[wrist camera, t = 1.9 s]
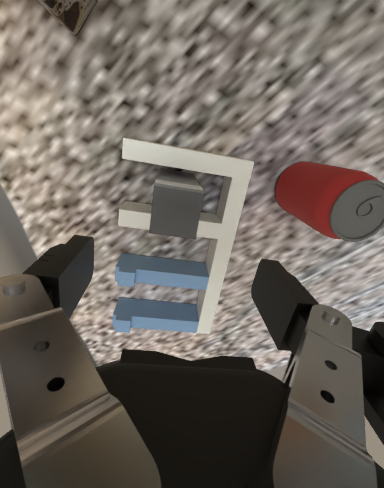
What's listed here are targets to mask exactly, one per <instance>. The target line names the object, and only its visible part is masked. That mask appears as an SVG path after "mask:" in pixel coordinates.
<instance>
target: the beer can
mask: <svg viewBox="0 0 384 488" xmlns="http://www.w3.org/2000/svg"><path fill="white" fill-rule="evenodd" d="M275 193H276V199H277V201H278V203H279V205H280V206H281V207H282V208H283V209H284V210H286V211H287V212H289V213H290V214H292V215H293V216H295V217H296V218H298V219H300V220H301V221H303V222H304V223H306V224H307V225H309V226H310V227H312V228H313V229H315V230H317V231H318V232H320V233H321V234H323V235H326V236H328V237H330V238H334V239H342V240H345V241H350V242H357V241H361V240H365V239H367V238H369V237H371V236H373V235H374V234H376V233H377V232H378V231H379V230H380V229H381V228H383V226H384V183H382V182H380V181H379V180H378V179H377V178H375V177H373V176H371V175H369V174H367V173H365V172H363V171H358V170H353V169H347V168H341V167H336V166H330V165H324V164H319V163H313V162H299V163H295V164H293V165H292V166H290V167H288V168H287V169H286V170H285V171H284V172H283V173H282V174H281V176H280V178H279V180H278V181H277V185H276V189H275Z"/></svg>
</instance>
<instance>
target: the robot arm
mask: <svg viewBox="0 0 384 488" xmlns="http://www.w3.org/2000/svg"><path fill="white" fill-rule="evenodd" d="M93 269H94V239H93V237H88V236H80V235H74V236H73V237H72V238H71V239H70V240H69V241H68V242H67V243H66V244H59V245H57V246H54V247H52V248H50V249H49V250H48V251H46V252H45V253H44V255H42V256H41V257H40V258H39V259H38V260H37V261H36V262H34V263H33V264H32V265H31V266H30V267H29V268H28V269H27V270H26V271H24V272H23V273H22V274H14V275H8V276H4V277H1V278H0V372H1V377H2V382H3V387H4V392H5V397H6V402H7V407H8V413H9V418H10V423H11V428H12V429H11V430H10V431H9V432H7V433H6V434H5V435H4V436H2V437H1V438H0V488H384V469H383V468H382V467H381V466H379V465H378V464H377V463H376V462H375V461H374V460H373V458H372V456H370V455H369V454H368V452H367V449H366V437H365V418H364V415H365V417H366V418H367V420H368V421H369V423H370V425H371V426H372V428H373V429H374V431H375V432H376V434H377V435H378V437H379V439H380V440H381V442H382V443H383V444H384V322H375V323H374V325H373V327H372V328H371V330H370V331H366V330H363V329H360V328H356V327H353V326H352V323H351V321H350V320H349V318H348V317H347V316H345V315H344V314H343V313H341V312H340V311H338V310H336V309H334V308H332V307H329V306H326V305H321V304H319V303H318V302H317V301H316V300H315V299H314V298H313V297H312V295H311V294H310V293H309V292H308V291H307V290H306V289H305V287H304V286H303V285H301V283H300V282H299V281H298V280H297V278H296V277H294V276H293V275H291V274H290V273H288V272H287V271H286V270H285V268H284V267H283V266H282V265H281V264H280V263H279V262H278V261H275V260H267V259H262V260H261V261H260V263H259V265H258V269H257V272H256V275H255V278H254V281H253V284H252V289H251V295H252V298H253V301H254V303H255V305H256V307H257V309H258V311H259V313H260V315H261V317H262V319H263V321H264V323H265V325H266V327H267V329H268V331H269V333H270V335H271V337H272V339H273V341H274V342H275V344H276V346H277V348H278V350H287V351H291V352H292V353H291V355H290V357H289V360H288V363H287V366H286V369H285V372H284V375H283V378H282V380H279V379H277V378H275V377H274V376H272V375H270V374H268V373H266V372H263V371H261V370H258V369H256V367H255V364H254V361H253V359H252V358H248V357H233V356H218V357H212V358H206V359H200V360H195V361H189V360H185V359H181V358H178V357H174V356H171V355H167V354H164V353H160V352H157V351H143V350H128V349H123V350H122V354H121V359H120V360H119V361H113V362H110V363H106V364H103V365H101V366H98V367H96V368H95V367H94V365H93V363H92V361H91V359H90V358H89V356H88V354H87V352H86V350H85V349H84V347H83V345H82V343H81V341H80V339H79V338H78V336H77V334H76V332H75V330H74V328H73V327H72V325H71V323H70V321H69V318H70V317H71V315H72V313H73V311H74V310H75V308H76V306H77V304H78V302H79V301H80V299H81V297H82V295H83V294H84V292H85V290H86V288H87V287H88V285H89V283H90V281H91V279H92V275H93Z"/></svg>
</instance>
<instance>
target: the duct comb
mask: <svg viewBox="0 0 384 488" xmlns="http://www.w3.org/2000/svg"><path fill="white" fill-rule="evenodd" d="M122 159H128V160H134V161H139V162H145V163H151V164H157V165H163V166H169V167H175V168H180V169H186V170H192V171H198V172H204V173H210V174H215V175H221V176H224V181H223V186H222V190H221V195H220V199H219V204H218V208H217V213H216V214H211V213H204V212H201V214H200V219H199V224H198V229H197V234H196V236H198V237H205V238H211V241H210V245H209V250H208V254H207V259H206V263H201V262H192V261H184V260H176V259H167V258H159V257H151V256H143V255H134V254H126V253H122V254H121V256H120V259H119V261H118V263H117V266H116V274H115V281H118V285H120V286H130V287H134V284H135V283H144V284H153V285H163V286H172V287H181V288H191V289H200V291H199V296H198V300H197V305H196V304H185V303H175V302H165V301H154V300H144V299H134V298H123V297H119V299H118V302H117V305H116V308H115V311H114V314H113V326H115V332H128V333H130V328H144V329H156V330H168V331H181V332H193V333H205V334H210V331H211V327H212V323H213V319H214V316H215V312H216V308H217V304H218V300H219V296H220V292H221V289H222V285H223V281H224V277H225V273H226V269H227V265H228V262H229V258H230V254H231V250H232V246H233V242H234V238H235V234H236V231H237V227H238V223H239V219H240V215H241V211H242V207H243V204H244V200H245V196H246V192H247V188H248V184H249V180H250V177H251V173H252V169H253V165H254V162H253V161H250V160H246V159H242V158H237V157H231V156H226V155H220V154H215V153H209V152H204V151H199V150H193V149H188V148H182V147H177V146H171V145H166V144H160V143H155V142H149V141H144V140H138V139H133V138H123V150H122ZM151 210H152V205H150V204H144V203H137V202H130V201H125V202H124V203H123V205H122V206H121V207H120V209H119V221H118V226H124V227H131V228H139V229H146V230H149V228H150V219H151Z"/></svg>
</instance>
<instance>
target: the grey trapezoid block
mask: <svg viewBox="0 0 384 488" xmlns="http://www.w3.org/2000/svg"><path fill="white" fill-rule="evenodd" d="M203 198H204V192H203V189H202V187H201V186H200V185H199V183H198V181H197V179H196V178H195V176H194V174H193V173H188V172H182V171H176V170H170V169H164V168H161V170H160V172H159V175H158V177H157V179H156V180H155V184H154V191H153V201H152V210H151V219H150V228H149V233H152V234H160V235H167V236H175V237H182V238H190V239H196V234H197V229H198V224H199V219H200V214H201V208H202V203H203Z"/></svg>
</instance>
